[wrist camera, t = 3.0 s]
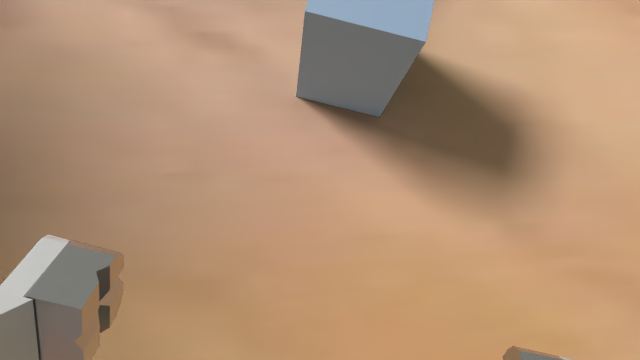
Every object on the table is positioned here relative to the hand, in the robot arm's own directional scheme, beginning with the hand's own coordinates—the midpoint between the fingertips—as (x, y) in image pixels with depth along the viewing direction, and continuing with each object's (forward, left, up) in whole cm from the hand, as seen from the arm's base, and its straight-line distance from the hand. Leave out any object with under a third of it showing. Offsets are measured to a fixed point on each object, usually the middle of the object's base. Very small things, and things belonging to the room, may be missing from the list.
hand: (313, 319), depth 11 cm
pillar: (+12, +4, -15) cm, 20 cm away
